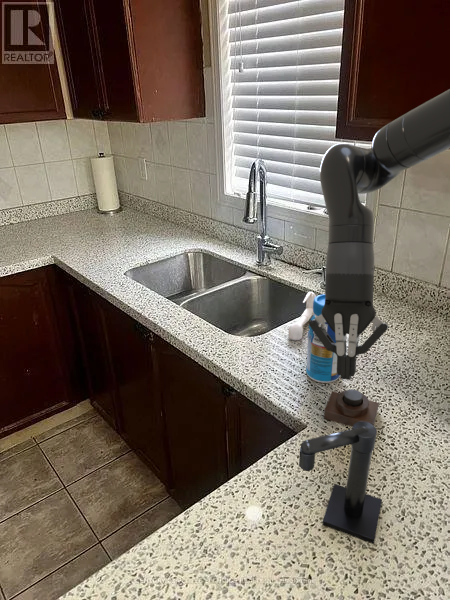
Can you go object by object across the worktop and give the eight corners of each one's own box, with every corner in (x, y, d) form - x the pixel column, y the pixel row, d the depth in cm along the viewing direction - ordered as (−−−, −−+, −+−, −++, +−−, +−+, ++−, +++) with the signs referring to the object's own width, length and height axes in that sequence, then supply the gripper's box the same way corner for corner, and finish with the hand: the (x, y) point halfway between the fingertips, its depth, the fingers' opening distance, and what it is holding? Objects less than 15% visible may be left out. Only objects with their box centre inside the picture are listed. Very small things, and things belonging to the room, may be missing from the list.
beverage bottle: (299, 367, 111) (303, 294, 102) (331, 361, 112) (337, 289, 103) (314, 387, 103) (319, 311, 94) (347, 380, 105) (355, 305, 96)
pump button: (362, 398, 94) (363, 391, 93) (359, 408, 91) (360, 402, 90) (345, 394, 95) (346, 387, 94) (342, 404, 92) (342, 397, 92)
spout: (365, 440, 69) (368, 418, 67) (377, 456, 66) (381, 433, 64) (294, 458, 66) (296, 435, 64) (304, 475, 63) (306, 452, 61)
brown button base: (377, 410, 96) (380, 396, 94) (372, 432, 90) (374, 416, 88) (331, 399, 99) (332, 384, 98) (323, 418, 94) (324, 403, 92)
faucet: (287, 349, 126) (284, 326, 119) (307, 306, 137) (305, 282, 130) (301, 352, 124) (299, 329, 118) (320, 309, 135) (318, 285, 128)
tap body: (381, 503, 75) (393, 436, 68) (373, 544, 69) (386, 474, 62) (333, 487, 78) (341, 421, 72) (322, 525, 72) (329, 456, 65)
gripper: (303, 271, 71) (300, 378, 72) (391, 271, 66) (387, 387, 67) (314, 272, 78) (311, 370, 79) (394, 273, 73) (390, 378, 74)
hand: (346, 378), depth 73 cm, fingers closed
